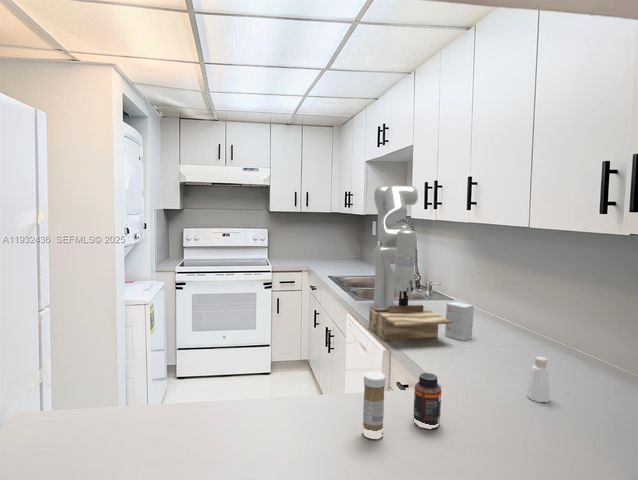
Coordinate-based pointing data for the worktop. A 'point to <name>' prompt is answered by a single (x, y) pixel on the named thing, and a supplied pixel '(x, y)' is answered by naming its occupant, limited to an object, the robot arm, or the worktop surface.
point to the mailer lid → (412, 316)
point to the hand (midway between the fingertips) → (403, 307)
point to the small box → (459, 321)
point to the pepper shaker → (539, 381)
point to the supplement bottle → (427, 399)
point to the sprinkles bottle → (373, 401)
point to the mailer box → (399, 329)
